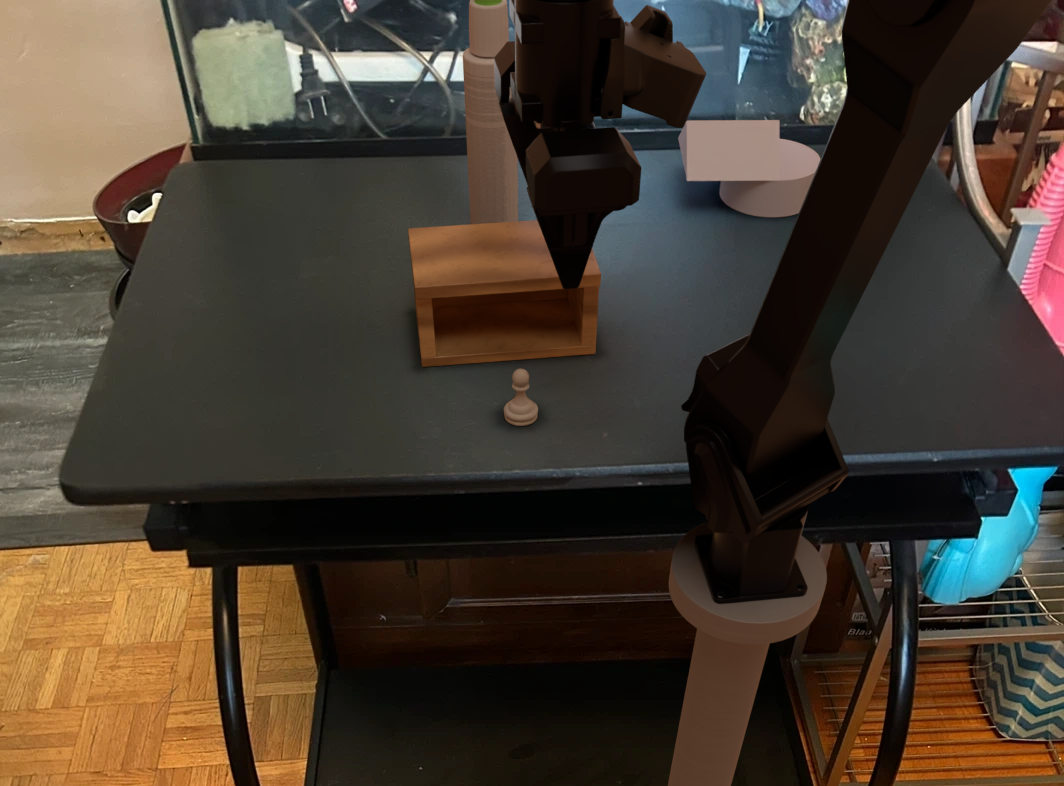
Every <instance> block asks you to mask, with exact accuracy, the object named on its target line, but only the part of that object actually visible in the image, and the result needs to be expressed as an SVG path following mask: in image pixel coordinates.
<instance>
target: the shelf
mask: <svg viewBox="0 0 1064 786" xmlns="http://www.w3.org/2000/svg"><path fill="white" fill-rule="evenodd" d="M407 232H408V243H409V244H408V245H409V252H410V253H409V254H410V264H411V274H412V287H413V295H414V306H415V308H414V309H415V315H416V316H415V317H416V318H415V319H416V326H417V333H418V342H419V353H420V361H421V367H422V368H428V367H439V366H441V367H442V366H455V365H467V364H468V365H469V364H481V363H493V362H505V361H507V362H509V361H522V360H533V359H534V360H535V359H546V358H547V359H548V358H559V357H573V356H585V355H586V356H587V355H595V354H596V352H597V351H596V350H597V347H596V346H597V335H598V318H599V317H598V315H599V297H600V287H601V286H602V272H601V270H600V267H599V264H598V260H597V257H596V254H595V251H594V249H593V247H592V250H591V253H590V256H589V259H588V262H587V265H586V268H585V271H584V274H583V277H582V280H581V283H580V286H579V287H578V288H574V289H564V288H563V287H562V285H561V282H560V279H559V277H558V274H557V271H556V269H555V266H554V263H553V260H552V258H551V255H550V252H549V250H548V247H547V245H546V242H545V239H544V237H543V234H542V231H541V229H540V226H539V223H538V221H537V219H533V220H531V219H530V220H518V221H515V222H500V223H484V224H471V223H470V224H457V225H455V224H454V225H439V226H427V227H425V226H424V227H412V228H411V227H409V228H408V229H407Z"/></svg>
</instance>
